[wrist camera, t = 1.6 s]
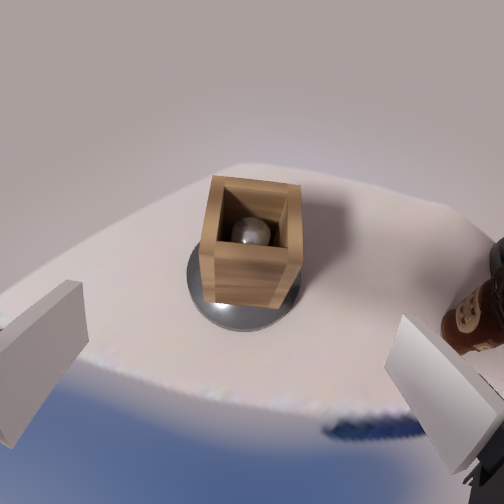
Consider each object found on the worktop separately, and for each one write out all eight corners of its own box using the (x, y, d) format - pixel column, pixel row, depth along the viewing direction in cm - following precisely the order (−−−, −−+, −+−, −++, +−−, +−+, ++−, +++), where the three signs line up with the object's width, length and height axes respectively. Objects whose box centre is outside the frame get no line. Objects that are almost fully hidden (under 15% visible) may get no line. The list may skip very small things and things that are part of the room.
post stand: (315, 309, 32) (345, 273, 24) (208, 347, 29) (203, 323, 21) (271, 221, 37) (285, 169, 29) (175, 247, 34) (164, 197, 26)
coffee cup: (423, 342, 31) (498, 302, 20) (442, 292, 34) (506, 243, 23) (465, 375, 29) (540, 347, 18) (480, 325, 32) (545, 287, 21)
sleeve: (278, 309, 30) (303, 263, 21) (204, 301, 30) (198, 252, 21) (279, 245, 34) (300, 185, 25) (213, 238, 33) (212, 175, 25)
